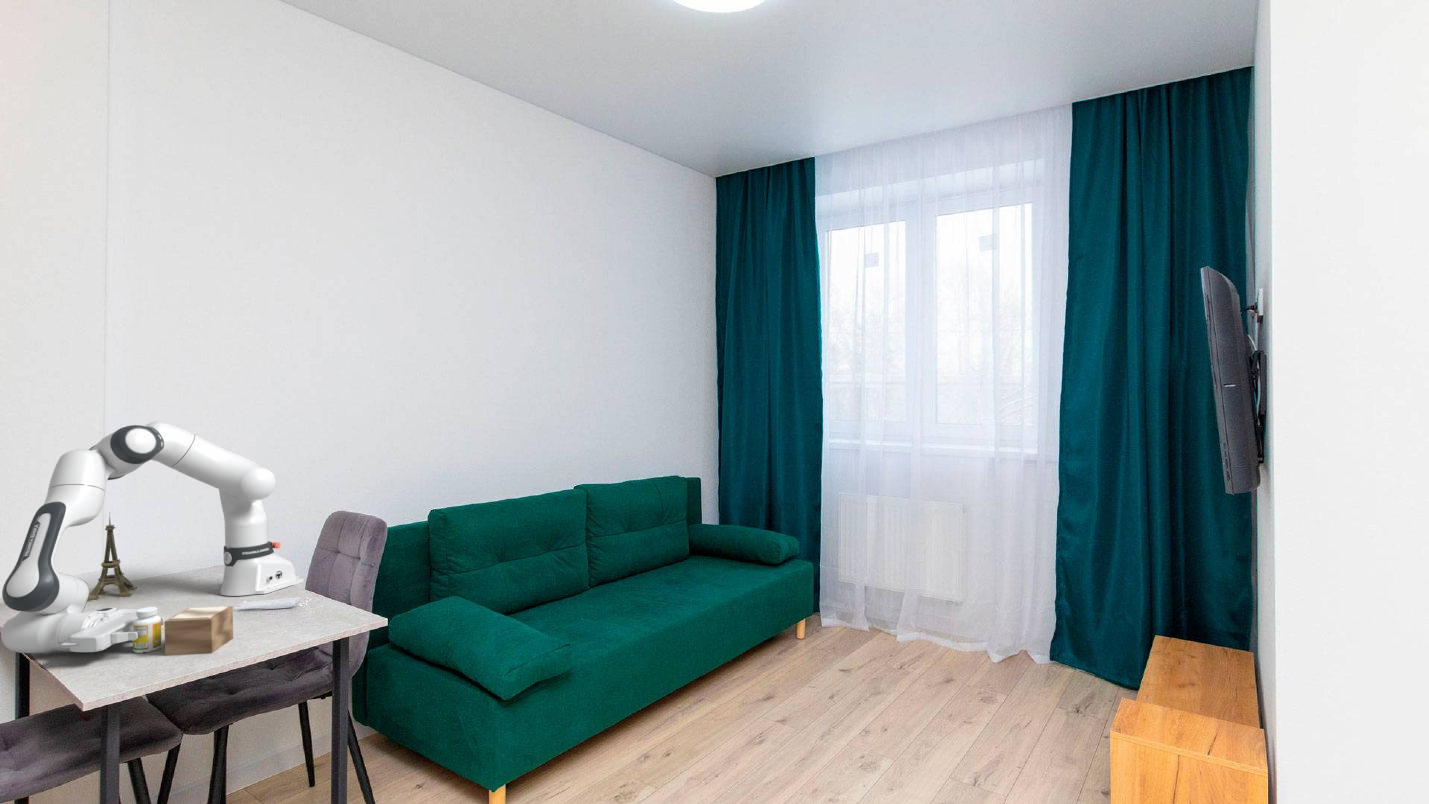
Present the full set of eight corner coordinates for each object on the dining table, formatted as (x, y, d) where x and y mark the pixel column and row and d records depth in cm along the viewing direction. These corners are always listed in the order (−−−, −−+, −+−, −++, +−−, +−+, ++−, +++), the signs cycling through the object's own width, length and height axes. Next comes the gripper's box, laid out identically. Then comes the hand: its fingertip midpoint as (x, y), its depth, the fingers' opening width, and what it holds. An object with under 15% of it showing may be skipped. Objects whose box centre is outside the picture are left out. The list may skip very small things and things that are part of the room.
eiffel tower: (84, 602, 213) (82, 516, 212) (93, 593, 222) (91, 510, 222) (130, 596, 218) (128, 513, 218) (136, 588, 228) (135, 507, 227)
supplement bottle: (136, 655, 171) (135, 614, 171) (130, 649, 175) (129, 609, 175) (164, 648, 176) (163, 609, 175) (158, 643, 179) (157, 604, 179)
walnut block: (189, 640, 181) (188, 607, 181) (233, 638, 183) (232, 605, 182) (165, 655, 171) (164, 620, 171) (211, 653, 173) (211, 618, 172)
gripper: (52, 633, 163) (122, 629, 165) (113, 605, 183) (174, 602, 185) (53, 661, 163) (122, 657, 165) (114, 630, 183) (175, 627, 185)
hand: (150, 628), depth 175 cm, fingers open, 8 cm apart
